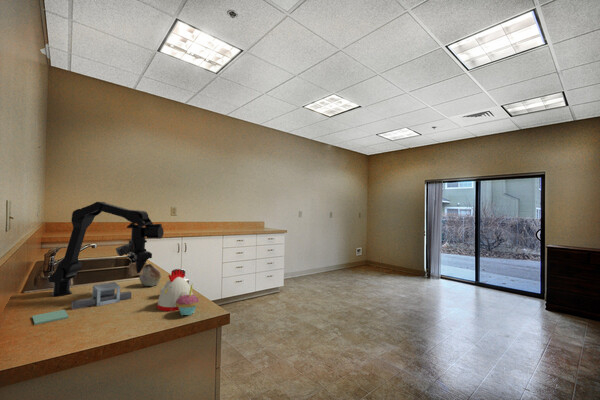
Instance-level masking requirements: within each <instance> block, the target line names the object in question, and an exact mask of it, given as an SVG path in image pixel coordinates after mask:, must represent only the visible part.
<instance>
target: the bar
mask: <svg viewBox="0 0 600 400" xmlns="http://www.w3.org/2000/svg"><path fill="white" fill-rule="evenodd" d="M116 294H117V292H115V294H109V295H104V296H100V302H102V301H107V300H112V299H116ZM131 299H132V292H131V291H130V290H129V291H120V301H119V302H121V301H122V302H123V301H126V300H131ZM96 302H97V297H92V296H91V297H87V298H81V299H75V300H71V309H72V310H77V309H85V308H89V307H94V306H96Z"/></svg>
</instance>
